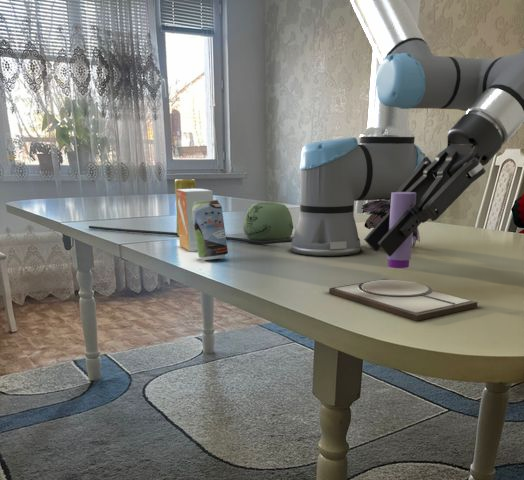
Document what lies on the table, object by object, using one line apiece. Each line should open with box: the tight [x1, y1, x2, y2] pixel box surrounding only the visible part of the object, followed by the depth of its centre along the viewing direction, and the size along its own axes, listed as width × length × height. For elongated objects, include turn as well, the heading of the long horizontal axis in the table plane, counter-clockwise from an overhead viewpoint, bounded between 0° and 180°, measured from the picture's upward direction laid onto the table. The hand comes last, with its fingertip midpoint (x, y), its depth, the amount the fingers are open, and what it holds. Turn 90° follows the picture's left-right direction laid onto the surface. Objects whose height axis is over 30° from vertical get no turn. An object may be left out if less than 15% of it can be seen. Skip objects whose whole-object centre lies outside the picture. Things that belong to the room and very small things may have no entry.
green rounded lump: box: [243, 202, 294, 241], centre depth 139 cm, size 16×13×9 cm
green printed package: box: [192, 199, 229, 261], centre depth 110 cm, size 6×7×12 cm
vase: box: [174, 178, 197, 237], centre depth 143 cm, size 6×6×14 cm
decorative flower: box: [360, 200, 421, 247], centre depth 123 cm, size 15×12×15 cm
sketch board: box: [328, 278, 479, 322], centre depth 80 cm, size 18×14×1 cm
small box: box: [177, 188, 214, 252], centre depth 123 cm, size 8×6×13 cm
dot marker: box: [386, 192, 416, 269], centre depth 82 cm, size 4×4×11 cm
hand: (377, 247), depth 82 cm, fingers closed on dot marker, 4 cm apart
